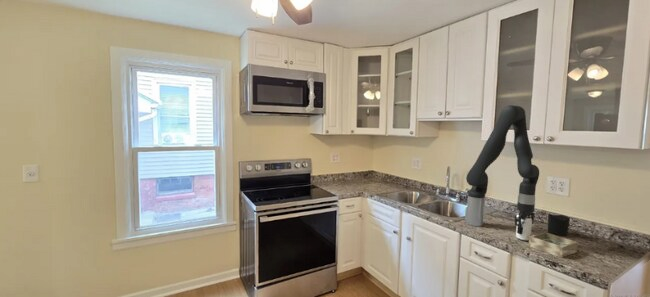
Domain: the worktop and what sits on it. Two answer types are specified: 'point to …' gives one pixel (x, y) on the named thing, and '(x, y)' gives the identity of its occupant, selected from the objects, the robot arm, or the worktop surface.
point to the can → (525, 230)
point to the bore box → (553, 244)
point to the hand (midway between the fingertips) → (523, 232)
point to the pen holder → (558, 224)
